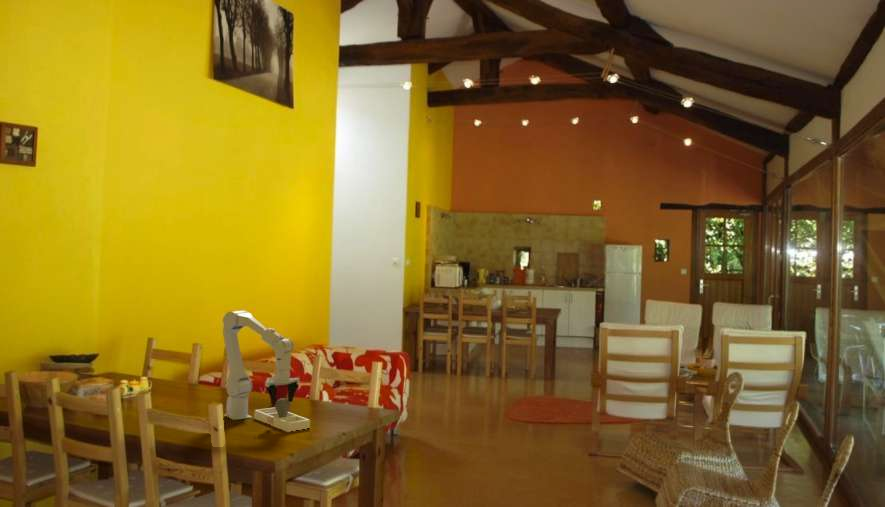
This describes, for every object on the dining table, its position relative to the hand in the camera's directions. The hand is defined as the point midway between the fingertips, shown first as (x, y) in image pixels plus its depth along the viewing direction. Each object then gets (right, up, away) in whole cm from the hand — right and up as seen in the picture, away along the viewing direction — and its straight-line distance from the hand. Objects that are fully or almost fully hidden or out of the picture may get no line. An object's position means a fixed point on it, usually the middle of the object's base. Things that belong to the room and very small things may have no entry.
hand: (281, 402), depth 295 cm
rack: (0, -8, 0) cm, 8 cm away
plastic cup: (-8, -8, +32) cm, 34 cm away
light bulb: (0, -8, 0) cm, 8 cm away
